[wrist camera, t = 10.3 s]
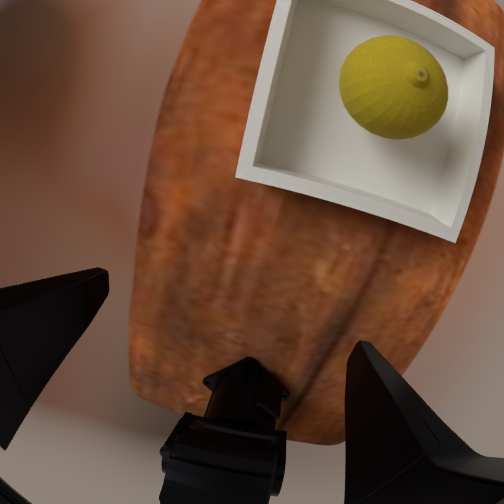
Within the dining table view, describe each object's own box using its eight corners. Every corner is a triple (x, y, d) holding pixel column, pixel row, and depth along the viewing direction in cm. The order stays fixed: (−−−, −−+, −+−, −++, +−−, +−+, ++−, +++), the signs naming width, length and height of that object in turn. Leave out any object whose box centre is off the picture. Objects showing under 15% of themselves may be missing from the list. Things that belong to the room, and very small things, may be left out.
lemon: (317, 113, 16) (330, 91, 9) (351, 45, 14) (380, -9, 7) (391, 155, 16) (448, 167, 9) (423, 88, 14) (488, 67, 7)
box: (431, 224, 18) (455, 243, 15) (247, 170, 19) (235, 177, 15) (467, 58, 13) (494, 47, 9) (289, -7, 14) (286, -34, 10)
